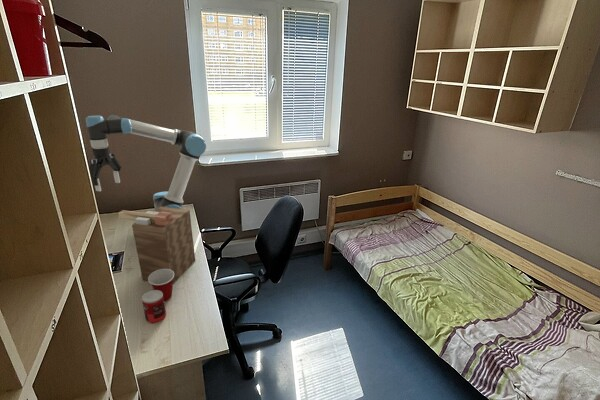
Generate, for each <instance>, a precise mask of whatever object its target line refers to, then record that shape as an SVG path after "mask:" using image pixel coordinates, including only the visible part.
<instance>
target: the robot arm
mask: <svg viewBox="0 0 600 400" xmlns="http://www.w3.org/2000/svg"><path fill="white" fill-rule="evenodd" d="M85 123H86V129H87V134H88V138H89V142H90V146H91V152H92V155H93V156H94V159H89V163H90V164H89V165H90V166H89V170H90V173H91V178H92V179H91V180H92V184H93V185H94V187H95V191H96V192H102V187H101V182H100V178H99V175H100V173H101V171H102V168H103V167H104V166H106V165H107V166H109V167H110V168H111V169H112V173H113V174H112V175H113V178H114V183H115V184H120V183H121V178H120V175H121V174H120V171H121V169H122V166H121V165H120V163H119V161H118V160H117V159H116V157H115V156H116V155H115V154H114V153H111V151H110V147H109V145H110V144H109V141H108V137H107V136H110V135H121V134H122V135H123V134H124V135H126V134H132V135H136V136H141V137H146V138H149V139H154V140H158V141H163V142H167V143H170V144H171V145H173V146H177V147H179V152H178V153H179V155H180V158H179V161H178V163H177V166H176V169H175V172H174V175H173V177H172V180H171V183H170V185H169V188H168V191H159V192H156V193H154V194H153V195H152V197H153V198H152V200H153V205H154V211H155V210H156V209H158V208H160V207H169V208H178V209H183V208H182V207H183V205H184V199H183V196H184V194H185V191H186V188H187V186H188V183H189V180H190V177H191V175H192V173H193V169H194V167H195V164H196V162H197V161H199V160H200V157H201V156H202V155H203V154H204V153H205V152H206V149H207V142H206V140H205V139H204V138H203V136H201V135H199V134H197V133H195V132H193V131H191V130H183V129H177V128H174V129H170V128H167V127H163V126H158V125H154V124H151V123H147V122H142V121H137V120H135V119H130V118H126V117H122V116H119V115H117V114H112V115H109V116H108V117H107V119H104V117H103V116H102V115H88V116H86V117H85Z"/></svg>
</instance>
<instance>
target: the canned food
mask: <svg viewBox="0 0 600 400" xmlns="http://www.w3.org/2000/svg"><path fill="white" fill-rule="evenodd" d="M141 302H142V308H143V312H144V318H145V321H147V322H148V324H158V323H160V322H162V321H163V320H164V319H165V318H166V315H167V312H166V305H165V302H164V298H163V293H162V292H161V291H159V290H154V289H152V290H148V291H147V292H145V293H144V294H143V295H142V296H141Z"/></svg>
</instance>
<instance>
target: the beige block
mask: <svg viewBox="0 0 600 400" xmlns="http://www.w3.org/2000/svg"><path fill="white" fill-rule="evenodd" d="M137 217H143V218H150V221H151V223H155V224H156V225H162V226H166V225H168V224H169V223H170V222H172V221H173V217H172V213H171V212H163V211H162V212H161V213H159V214H151V213H146V212H141V211H133V210H124V209H122V210H120V211H118V218H119V219H122V220H128V221H135V219H136V218H137Z"/></svg>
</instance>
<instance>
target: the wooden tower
mask: <svg viewBox="0 0 600 400" xmlns="http://www.w3.org/2000/svg"><path fill="white" fill-rule="evenodd" d="M162 211H163V212H171V213H172V217H173V221H172V222H170V223H169V224H168V225H166V226H162V225H156V224H155V223H151V224H149V225H148V226H147V225H139V224H136V223H135V222H134V223H133V224H131V228H132V231H133V238H134V243H135V249H136V254H137V259H138V263H139V269H140V274H141V280H142V282H143V281H145V282H149V281H148V277H149V275H150V274H151V273H152V272H154V271H156V270H160V269H170V270H172V271H173V272H174V278H173V285H174V284H175V283H176V282H177V281H178V280H179V279H180V278H181V277H182V275H184V273H185V272H187V271H188V269H189V268H190V267H191V266H192V265H193V264H194V263H195V262H196V255H195V245H194V238H193V237H194V236H193V229H192V220H191V211H190V209H186V208H181V209H178V208H169V207H160V208H158V209H156V210H155V209H154V210H153V212H159V213H161V212H162Z"/></svg>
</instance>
